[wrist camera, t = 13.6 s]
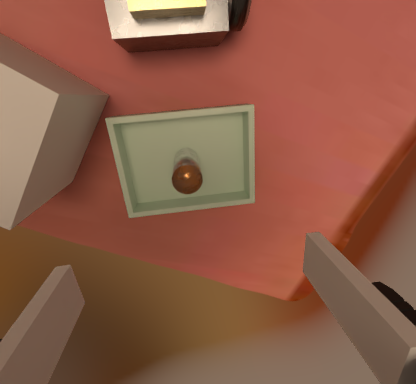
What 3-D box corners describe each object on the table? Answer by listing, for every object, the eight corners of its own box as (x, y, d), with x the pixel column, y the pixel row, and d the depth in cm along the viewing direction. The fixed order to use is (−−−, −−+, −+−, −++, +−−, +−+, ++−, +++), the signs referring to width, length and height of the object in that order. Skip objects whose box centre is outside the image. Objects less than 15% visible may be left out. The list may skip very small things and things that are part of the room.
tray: (133, 206, 39) (128, 218, 36) (113, 115, 34) (104, 118, 30) (248, 193, 41) (254, 202, 37) (246, 103, 35) (254, 104, 31)
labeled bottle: (176, 171, 37) (174, 195, 28) (173, 148, 36) (169, 167, 27) (199, 168, 37) (204, 192, 28) (196, 146, 36) (201, 163, 27)
